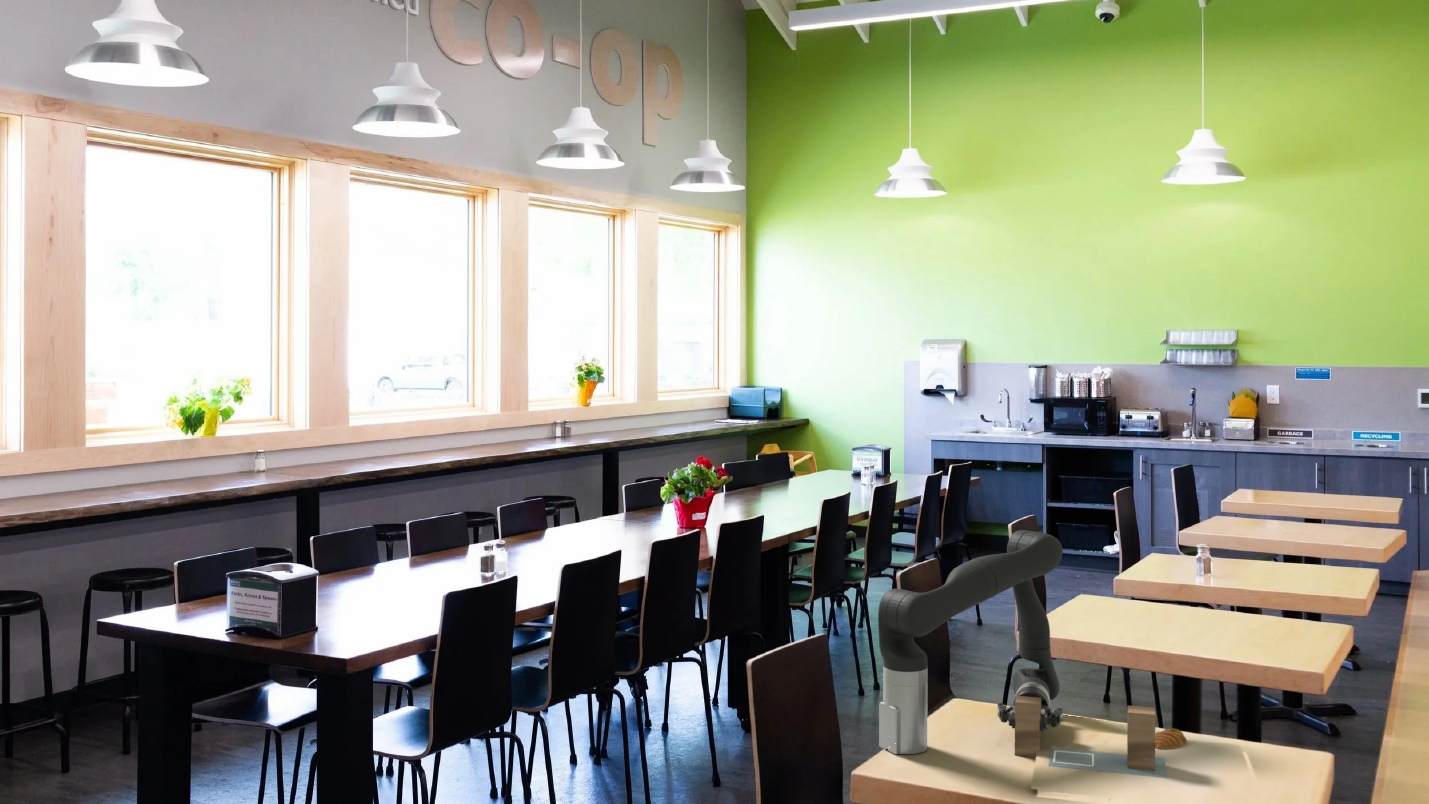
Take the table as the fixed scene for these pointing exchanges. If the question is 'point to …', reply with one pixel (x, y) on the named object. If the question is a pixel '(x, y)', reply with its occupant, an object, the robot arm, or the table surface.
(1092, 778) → the table surface
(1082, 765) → the board
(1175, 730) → the pastry
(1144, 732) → the built pillar
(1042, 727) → the robot arm
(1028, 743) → the pillar
